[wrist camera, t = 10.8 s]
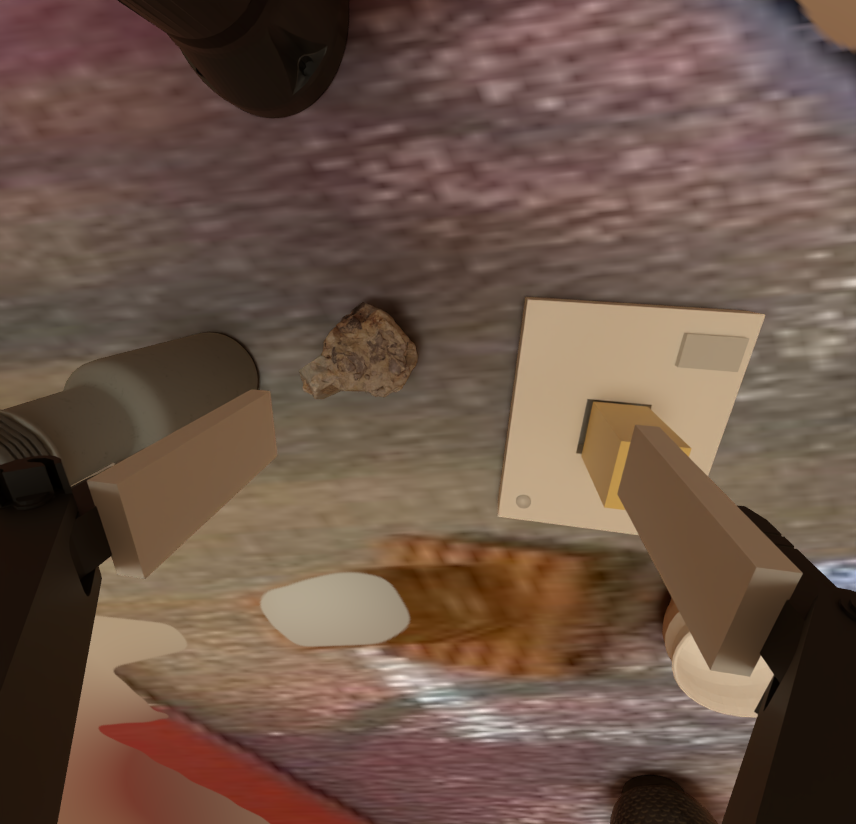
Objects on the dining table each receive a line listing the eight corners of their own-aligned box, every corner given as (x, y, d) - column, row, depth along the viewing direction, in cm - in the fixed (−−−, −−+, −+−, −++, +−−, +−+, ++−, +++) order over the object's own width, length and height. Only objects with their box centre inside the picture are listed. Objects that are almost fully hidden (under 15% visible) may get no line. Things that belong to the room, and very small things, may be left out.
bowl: (699, 670, 53) (733, 736, 45) (619, 598, 50) (640, 656, 43) (822, 613, 47) (883, 679, 39) (737, 529, 45) (786, 582, 37)
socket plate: (525, 296, 39) (528, 300, 36) (744, 310, 37) (770, 315, 33) (497, 501, 48) (498, 520, 44) (673, 523, 45) (687, 545, 42)
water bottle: (274, 405, 48) (17, 578, 22) (206, 419, 50) (-99, 590, 24) (242, 322, 45) (-103, 410, 19) (171, 340, 47) (-226, 441, 21)
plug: (586, 391, 41) (626, 448, 29) (636, 396, 40) (699, 455, 28) (575, 443, 43) (608, 516, 31) (623, 448, 43) (676, 525, 30)
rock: (426, 365, 46) (438, 323, 36) (369, 447, 43) (366, 423, 33) (361, 324, 47) (357, 272, 37) (300, 401, 43) (277, 365, 34)
